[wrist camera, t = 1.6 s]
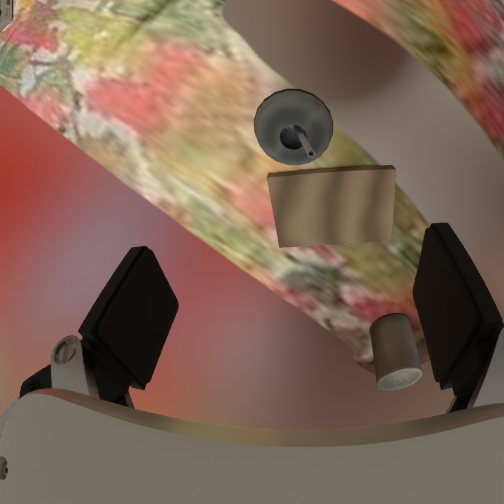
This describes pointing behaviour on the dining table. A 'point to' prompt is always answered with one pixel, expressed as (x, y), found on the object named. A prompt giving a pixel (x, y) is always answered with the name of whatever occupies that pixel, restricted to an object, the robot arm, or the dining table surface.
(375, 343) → the pillar candle
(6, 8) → the tea box
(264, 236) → the dining table surface
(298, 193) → the walnut board
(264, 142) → the beverage cup
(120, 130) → the dining table surface
